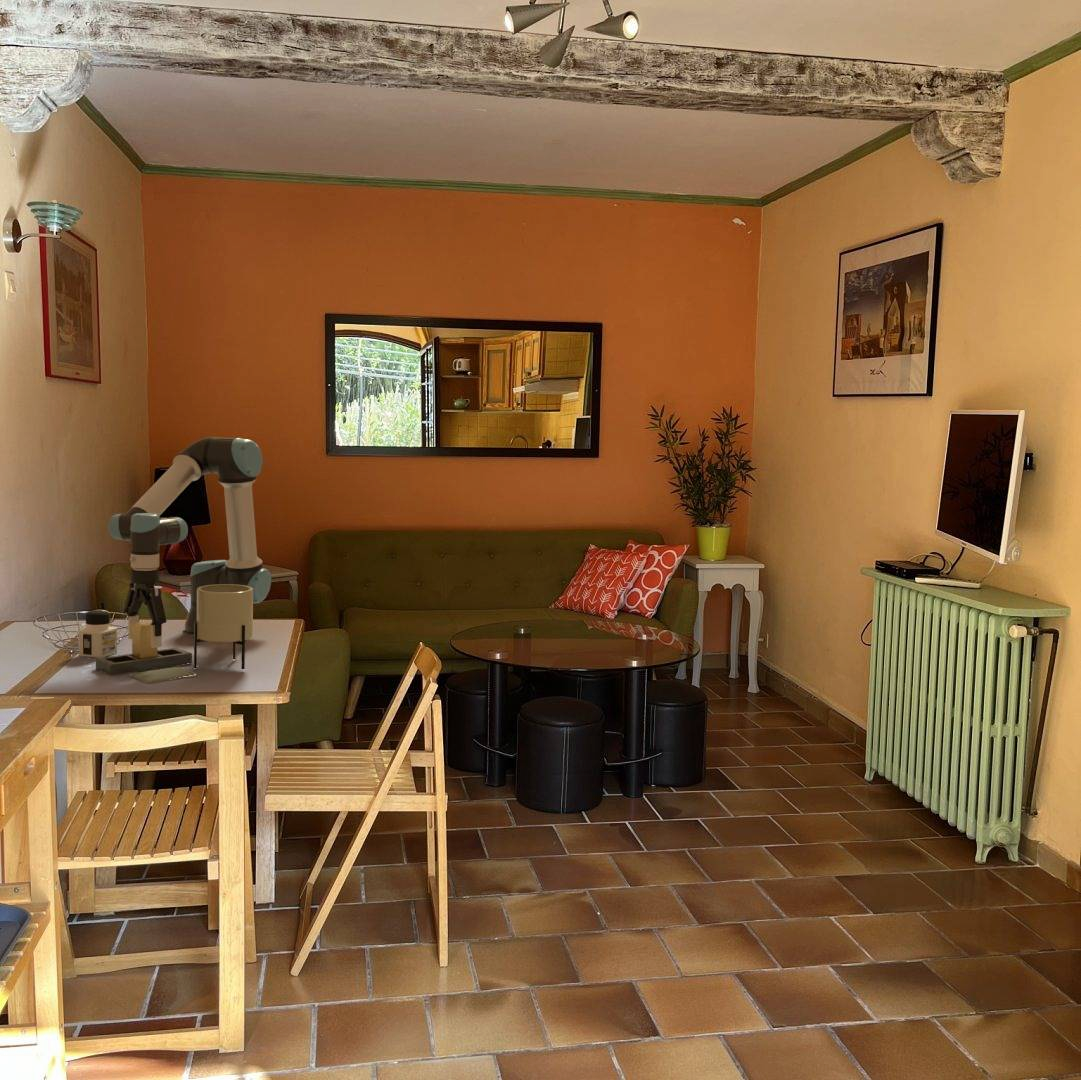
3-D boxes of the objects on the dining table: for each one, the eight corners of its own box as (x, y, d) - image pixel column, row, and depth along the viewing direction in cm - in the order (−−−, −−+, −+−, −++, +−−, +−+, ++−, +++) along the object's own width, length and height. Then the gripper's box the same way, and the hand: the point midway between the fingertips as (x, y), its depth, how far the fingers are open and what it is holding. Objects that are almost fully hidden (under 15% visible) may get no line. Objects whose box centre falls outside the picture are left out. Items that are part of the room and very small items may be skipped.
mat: (178, 668, 298) (178, 666, 298) (196, 675, 291) (196, 673, 291) (130, 675, 288) (130, 673, 288) (147, 683, 281) (147, 681, 281)
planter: (259, 662, 309) (261, 585, 307) (241, 675, 294) (242, 594, 291) (209, 659, 310) (209, 582, 308) (187, 672, 294) (188, 591, 292)
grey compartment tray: (176, 657, 311) (176, 647, 310) (191, 663, 305) (191, 653, 304) (95, 669, 293) (95, 658, 293) (110, 675, 287) (110, 664, 287)
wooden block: (149, 663, 303) (149, 620, 301) (157, 666, 299) (157, 623, 298) (132, 665, 299) (132, 622, 297) (140, 669, 296) (140, 625, 294)
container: (101, 658, 306) (101, 614, 304) (78, 656, 307) (77, 612, 306) (117, 652, 313) (117, 609, 312) (94, 650, 315) (94, 607, 313)
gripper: (111, 563, 301) (111, 636, 304) (153, 575, 285) (153, 652, 287) (137, 562, 307) (136, 633, 309) (179, 573, 290) (179, 649, 292)
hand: (144, 642), depth 298 cm, fingers open, 13 cm apart
